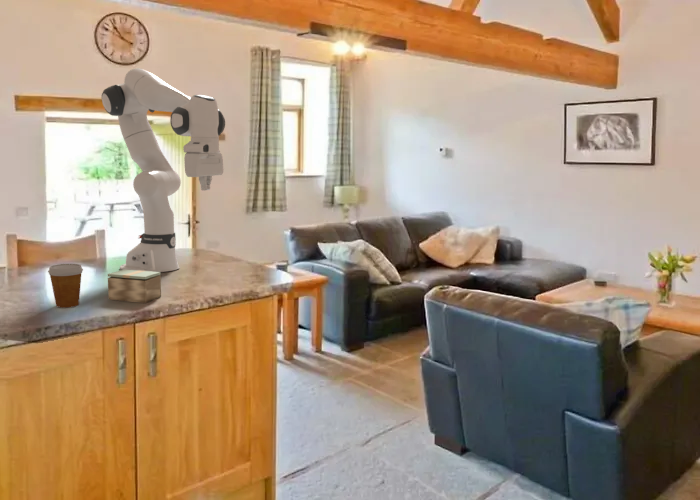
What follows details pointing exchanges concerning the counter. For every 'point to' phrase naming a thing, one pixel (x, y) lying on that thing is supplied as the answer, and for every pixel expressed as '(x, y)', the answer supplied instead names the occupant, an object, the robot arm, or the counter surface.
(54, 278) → the disposable coffee cup
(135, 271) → the lid
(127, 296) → the box
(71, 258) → the counter surface
